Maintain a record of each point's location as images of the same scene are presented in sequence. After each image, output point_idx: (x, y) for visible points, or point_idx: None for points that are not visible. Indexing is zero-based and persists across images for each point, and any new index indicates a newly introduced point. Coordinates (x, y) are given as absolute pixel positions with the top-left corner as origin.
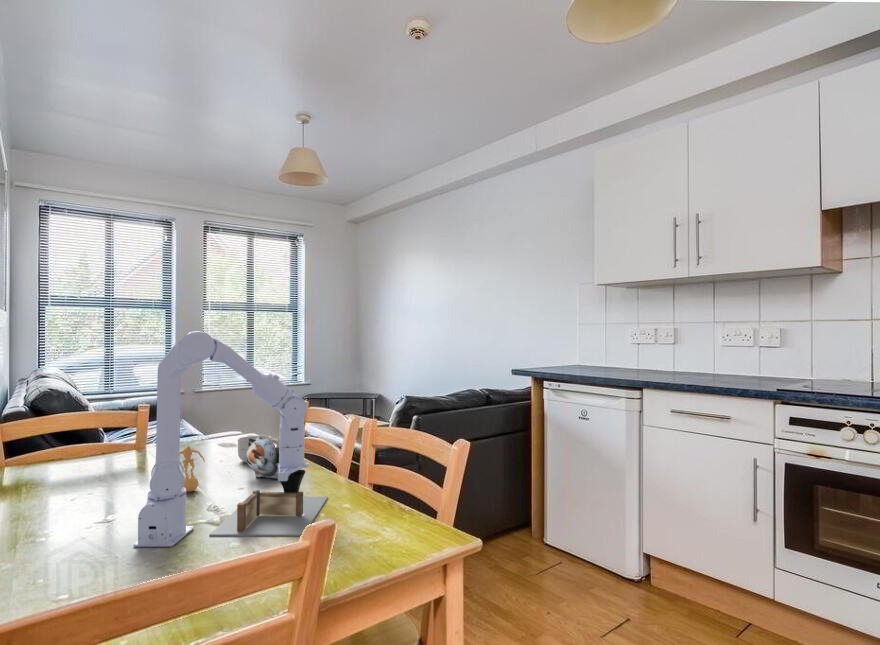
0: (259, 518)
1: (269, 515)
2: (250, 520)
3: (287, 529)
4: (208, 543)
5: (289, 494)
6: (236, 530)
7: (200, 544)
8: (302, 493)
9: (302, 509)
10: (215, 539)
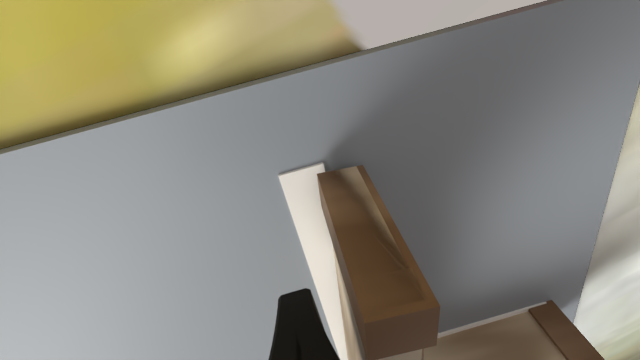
0: None
1: None
2: (464, 342)
3: (556, 134)
4: (617, 328)
5: None
6: None
7: (619, 340)
8: (383, 307)
9: (338, 194)
10: (586, 332)
